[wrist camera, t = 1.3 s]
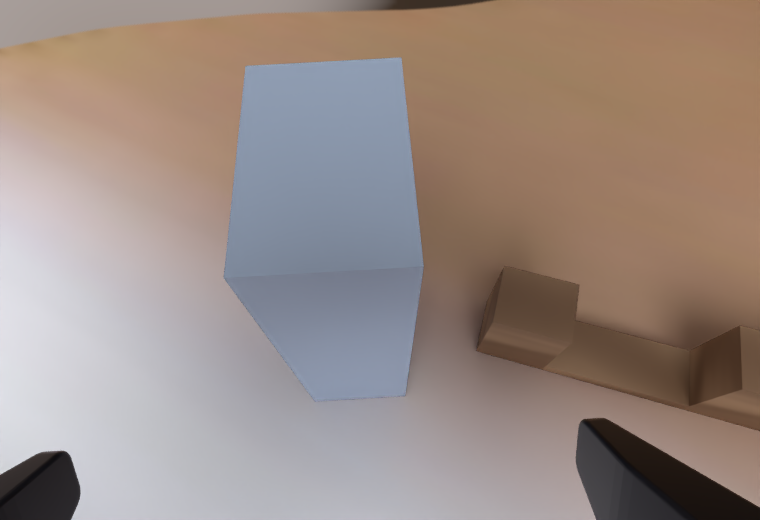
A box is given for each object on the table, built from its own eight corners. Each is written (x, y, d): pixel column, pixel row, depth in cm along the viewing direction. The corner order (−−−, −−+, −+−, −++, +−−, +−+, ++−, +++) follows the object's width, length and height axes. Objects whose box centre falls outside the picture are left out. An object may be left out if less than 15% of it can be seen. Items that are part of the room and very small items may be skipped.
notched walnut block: (860, 459, 20) (964, 449, 16) (476, 350, 22) (493, 321, 18) (852, 399, 21) (948, 378, 17) (486, 302, 23) (504, 265, 19)
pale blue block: (405, 396, 21) (423, 266, 10) (314, 401, 21) (223, 278, 10) (395, 273, 24) (401, 57, 12) (315, 278, 24) (245, 65, 12)
